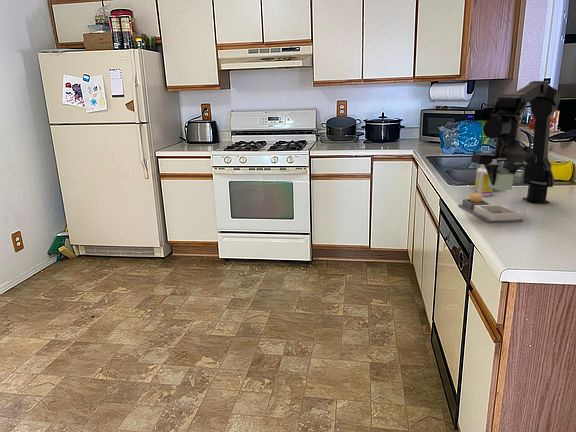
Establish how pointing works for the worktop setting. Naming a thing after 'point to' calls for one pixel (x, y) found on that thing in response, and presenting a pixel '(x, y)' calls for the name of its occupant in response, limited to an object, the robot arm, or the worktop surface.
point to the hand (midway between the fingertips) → (500, 184)
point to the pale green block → (502, 180)
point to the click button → (475, 198)
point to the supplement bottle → (482, 182)
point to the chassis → (491, 212)
